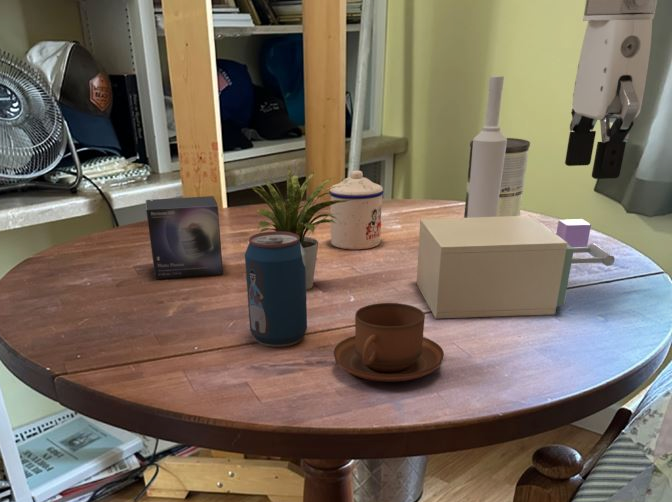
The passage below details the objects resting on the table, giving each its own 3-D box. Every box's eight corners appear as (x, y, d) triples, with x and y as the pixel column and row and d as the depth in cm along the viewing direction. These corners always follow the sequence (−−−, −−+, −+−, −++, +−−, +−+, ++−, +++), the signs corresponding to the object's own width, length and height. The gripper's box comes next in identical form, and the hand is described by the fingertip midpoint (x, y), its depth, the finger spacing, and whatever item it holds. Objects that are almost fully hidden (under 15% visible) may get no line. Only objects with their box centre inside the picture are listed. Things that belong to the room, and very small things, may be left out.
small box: (154, 281, 106) (144, 208, 100) (154, 268, 111) (144, 199, 106) (224, 275, 108) (218, 203, 102) (220, 263, 113) (214, 194, 107)
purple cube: (577, 243, 119) (582, 218, 117) (586, 249, 115) (591, 224, 113) (554, 244, 119) (558, 219, 117) (562, 250, 115) (566, 225, 113)
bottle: (500, 247, 118) (522, 76, 104) (478, 252, 115) (497, 78, 102) (478, 241, 121) (496, 74, 108) (456, 246, 119) (471, 76, 105)
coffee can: (451, 224, 131) (458, 142, 124) (484, 215, 137) (492, 136, 129) (497, 234, 125) (507, 147, 117) (530, 223, 131) (541, 140, 123)
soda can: (313, 329, 88) (310, 231, 81) (299, 351, 82) (296, 246, 76) (260, 326, 89) (253, 229, 83) (243, 346, 83) (235, 244, 77)
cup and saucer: (441, 395, 72) (446, 337, 68) (325, 388, 74) (325, 332, 70) (443, 349, 82) (448, 298, 78) (341, 344, 83) (341, 294, 80)
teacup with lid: (376, 251, 117) (378, 177, 111) (323, 249, 119) (322, 175, 113) (388, 234, 127) (391, 164, 120) (339, 231, 129) (340, 163, 122)
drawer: (580, 273, 102) (590, 221, 98) (618, 303, 91) (631, 246, 87) (433, 278, 101) (437, 226, 97) (452, 309, 90) (458, 252, 86)
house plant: (292, 312, 93) (287, 181, 84) (223, 291, 101) (212, 169, 92) (360, 286, 102) (362, 164, 93) (291, 268, 110) (287, 155, 101)
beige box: (521, 280, 103) (531, 215, 98) (555, 314, 91) (567, 242, 86) (416, 283, 102) (420, 219, 97) (435, 318, 90) (441, 246, 85)
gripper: (691, 1, 71) (651, 183, 81) (621, 5, 86) (593, 159, 95) (619, 4, 71) (586, 185, 81) (560, 7, 86) (539, 161, 95)
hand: (590, 170), depth 88 cm, fingers open, 8 cm apart
